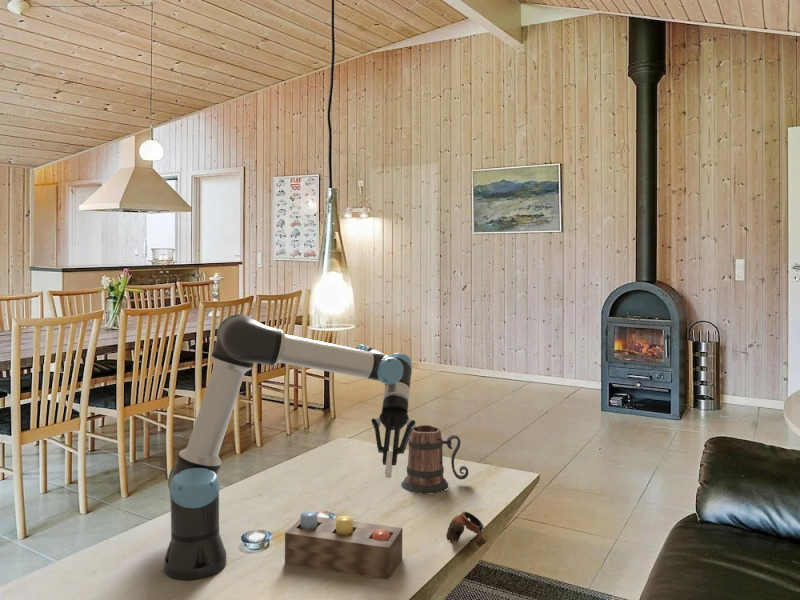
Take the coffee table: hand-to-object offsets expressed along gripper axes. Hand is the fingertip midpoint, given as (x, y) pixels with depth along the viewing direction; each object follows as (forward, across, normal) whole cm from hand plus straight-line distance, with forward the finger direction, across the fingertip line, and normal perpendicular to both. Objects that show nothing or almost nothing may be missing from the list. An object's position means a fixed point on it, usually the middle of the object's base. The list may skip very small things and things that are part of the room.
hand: (388, 475), depth 170 cm
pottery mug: (+9, -20, -20) cm, 30 cm away
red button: (+19, 0, -4) cm, 19 cm away
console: (+21, +10, -8) cm, 24 cm away
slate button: (+15, +20, -5) cm, 25 cm away
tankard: (-21, -10, -49) cm, 55 cm away
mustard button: (+16, +10, -3) cm, 19 cm away
